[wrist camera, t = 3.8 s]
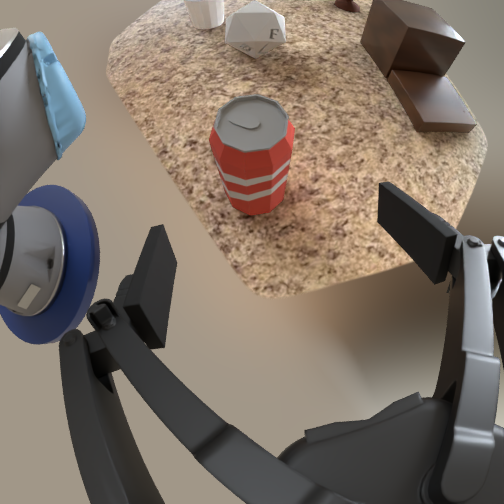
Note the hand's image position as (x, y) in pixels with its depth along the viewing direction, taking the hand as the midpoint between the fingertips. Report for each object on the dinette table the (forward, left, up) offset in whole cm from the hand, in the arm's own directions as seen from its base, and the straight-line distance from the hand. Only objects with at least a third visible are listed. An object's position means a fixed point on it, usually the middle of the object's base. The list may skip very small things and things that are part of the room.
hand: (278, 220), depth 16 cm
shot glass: (-39, +19, -12) cm, 45 cm away
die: (-26, +19, -12) cm, 34 cm away
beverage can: (-7, +3, -12) cm, 15 cm away
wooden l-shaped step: (-6, +36, -12) cm, 39 cm away
